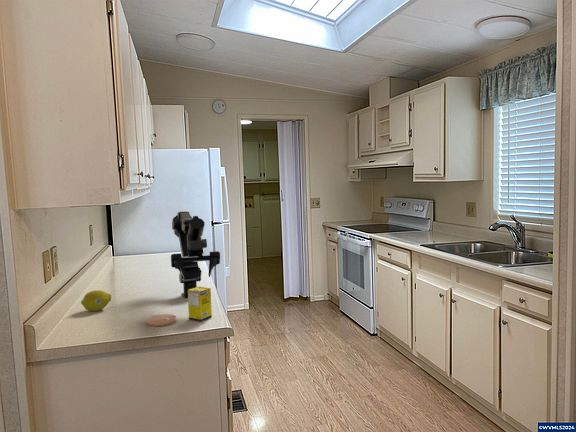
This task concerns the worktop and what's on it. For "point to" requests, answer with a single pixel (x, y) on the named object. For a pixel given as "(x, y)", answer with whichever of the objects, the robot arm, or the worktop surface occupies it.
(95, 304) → the lemon
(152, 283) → the worktop surface
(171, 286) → the worktop surface
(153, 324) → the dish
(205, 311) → the supplement box
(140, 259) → the worktop surface
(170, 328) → the worktop surface
